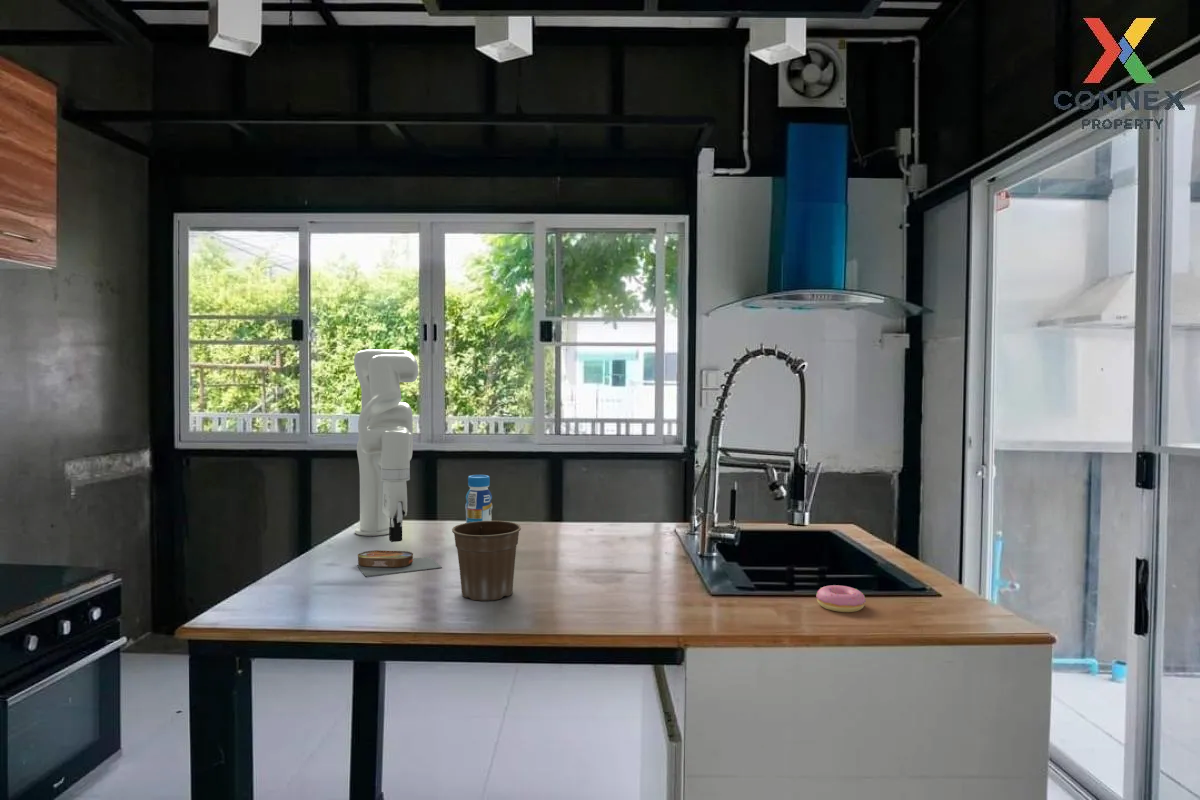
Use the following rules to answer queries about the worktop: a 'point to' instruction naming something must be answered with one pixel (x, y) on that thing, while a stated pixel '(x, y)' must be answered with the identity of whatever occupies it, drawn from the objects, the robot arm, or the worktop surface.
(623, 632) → the worktop surface
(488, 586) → the plant pot
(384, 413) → the robot arm
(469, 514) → the beverage bottle
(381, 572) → the mat
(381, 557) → the tin
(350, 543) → the worktop surface
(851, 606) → the doughnut
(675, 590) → the worktop surface
